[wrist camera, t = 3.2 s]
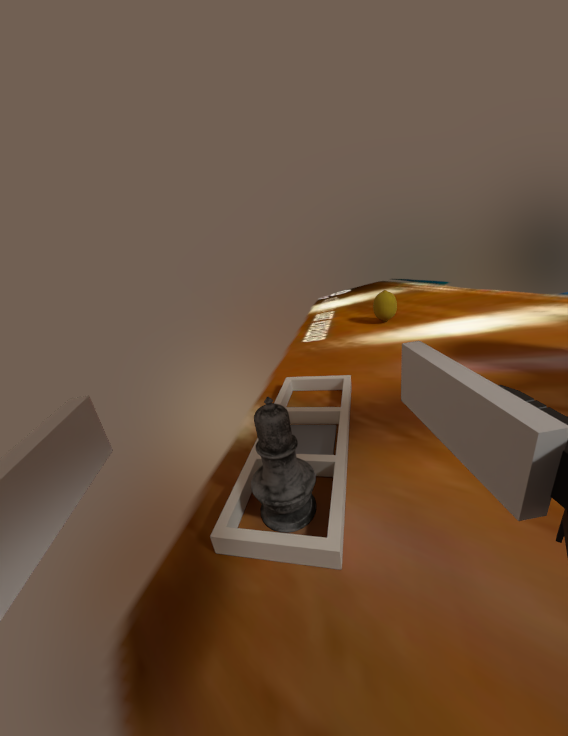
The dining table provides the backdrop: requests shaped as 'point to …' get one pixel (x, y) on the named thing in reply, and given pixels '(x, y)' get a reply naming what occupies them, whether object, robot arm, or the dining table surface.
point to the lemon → (385, 306)
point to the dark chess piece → (281, 472)
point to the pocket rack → (319, 454)
